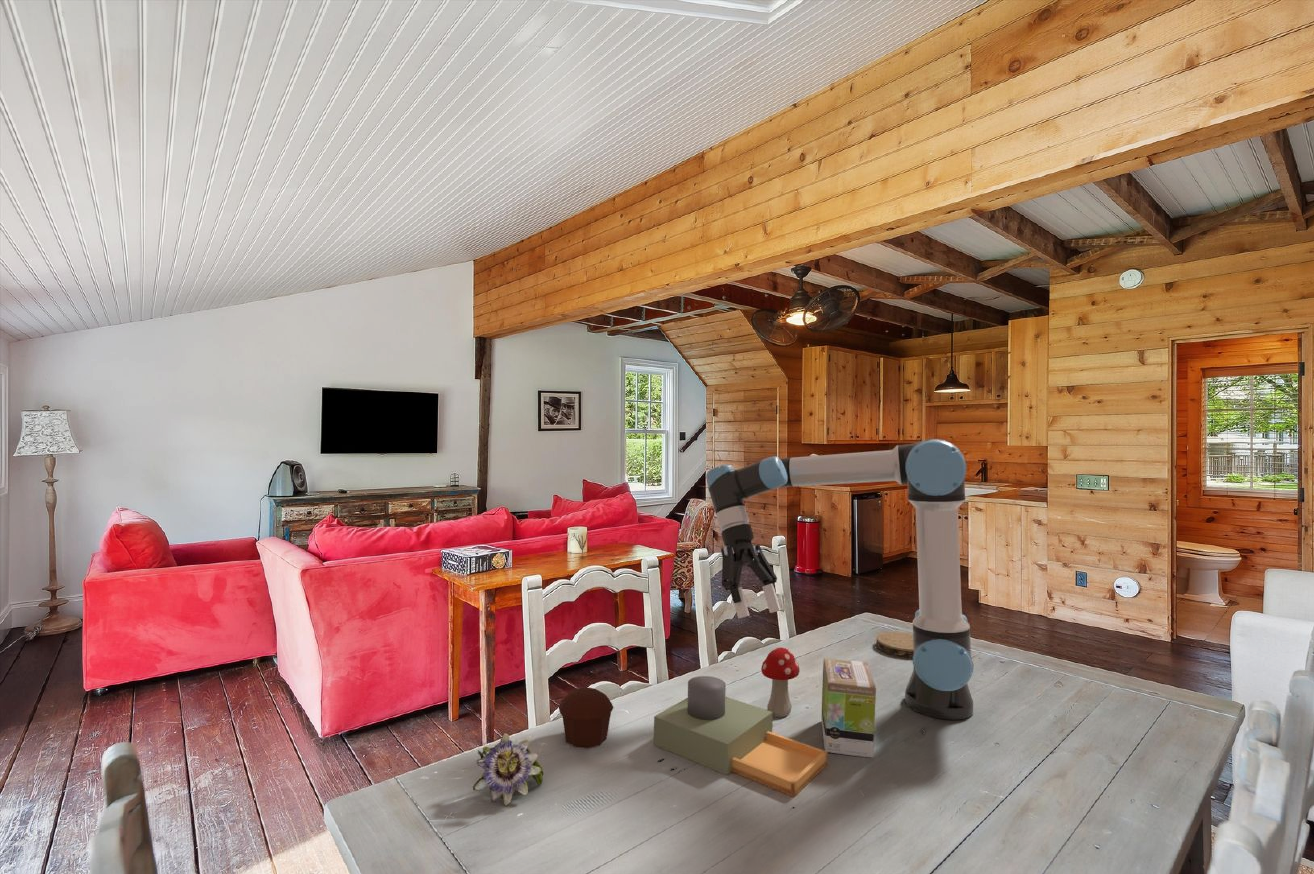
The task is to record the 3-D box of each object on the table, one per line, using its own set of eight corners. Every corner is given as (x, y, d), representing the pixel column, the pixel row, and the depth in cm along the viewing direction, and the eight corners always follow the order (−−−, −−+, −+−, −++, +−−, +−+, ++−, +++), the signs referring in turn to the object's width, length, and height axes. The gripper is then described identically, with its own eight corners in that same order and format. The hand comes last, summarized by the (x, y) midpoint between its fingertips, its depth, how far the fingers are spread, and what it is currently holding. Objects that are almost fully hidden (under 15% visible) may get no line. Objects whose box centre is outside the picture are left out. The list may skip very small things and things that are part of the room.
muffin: (622, 732, 139) (623, 686, 139) (596, 756, 129) (597, 707, 129) (575, 720, 144) (576, 676, 144) (547, 742, 134) (548, 695, 134)
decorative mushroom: (771, 699, 157) (773, 638, 156) (805, 709, 152) (806, 646, 151) (753, 714, 149) (754, 650, 148) (787, 725, 144) (789, 658, 143)
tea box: (875, 759, 130) (877, 686, 130) (824, 753, 132) (825, 682, 132) (866, 725, 145) (868, 660, 144) (820, 720, 147) (822, 656, 146)
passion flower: (506, 833, 113) (469, 794, 108) (494, 790, 122) (459, 752, 118) (560, 788, 116) (526, 748, 111) (543, 750, 125) (511, 711, 120)
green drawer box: (830, 760, 129) (832, 701, 129) (790, 801, 115) (791, 735, 114) (702, 714, 148) (703, 663, 148) (653, 744, 134) (654, 687, 134)
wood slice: (881, 657, 188) (881, 647, 188) (872, 639, 203) (872, 629, 203) (938, 661, 185) (938, 651, 185) (925, 643, 201) (925, 633, 201)
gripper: (751, 532, 169) (774, 613, 161) (692, 532, 150) (716, 623, 143) (774, 523, 164) (800, 605, 157) (717, 521, 146) (743, 615, 139)
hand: (760, 614), depth 150 cm, fingers open, 13 cm apart
